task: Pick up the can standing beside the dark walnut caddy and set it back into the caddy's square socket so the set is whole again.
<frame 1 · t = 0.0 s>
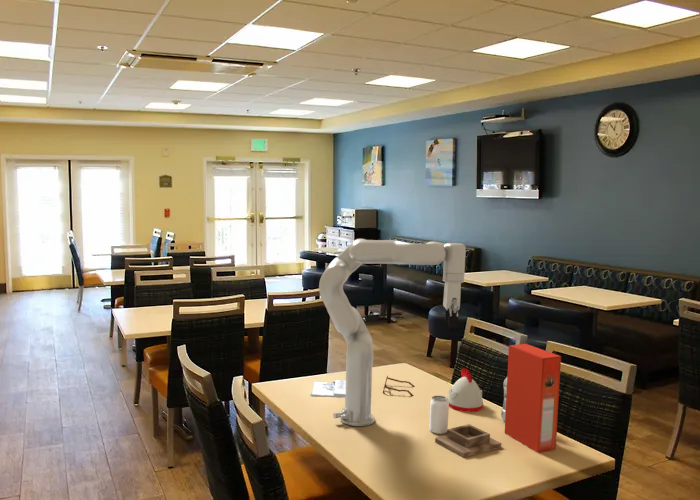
hand: (451, 324, 222), 37 cm above the table, tool pointing down, fingers open, 9 cm apart
can: (438, 431, 219), on the table
plastic bottle: (510, 422, 230), on the table
open book: (335, 391, 261), on the table
caddy: (467, 444, 207), on the table
file binder: (528, 441, 212), on the table
kitchen timer: (465, 406, 246), on the table
glasses: (398, 391, 263), on the table
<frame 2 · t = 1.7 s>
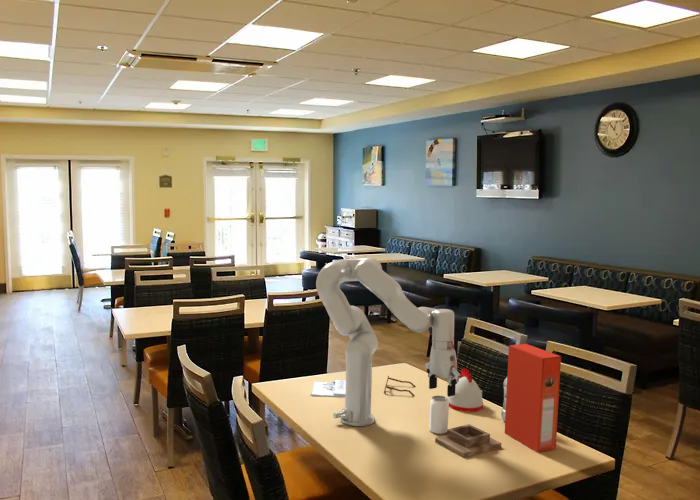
hand: (441, 392, 217), 14 cm above the table, tool pointing down, fingers open, 9 cm apart
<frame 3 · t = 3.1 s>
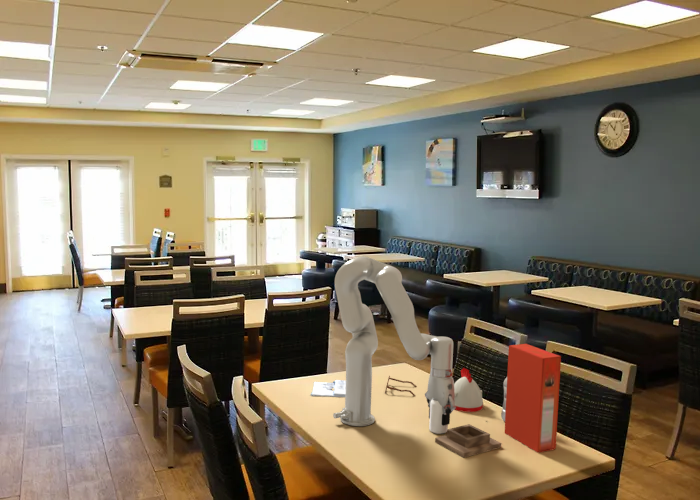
hand: (439, 420, 218), 4 cm above the table, tool pointing down, fingers closed on can, 6 cm apart
can: (438, 431, 219), on the table, touching gripper
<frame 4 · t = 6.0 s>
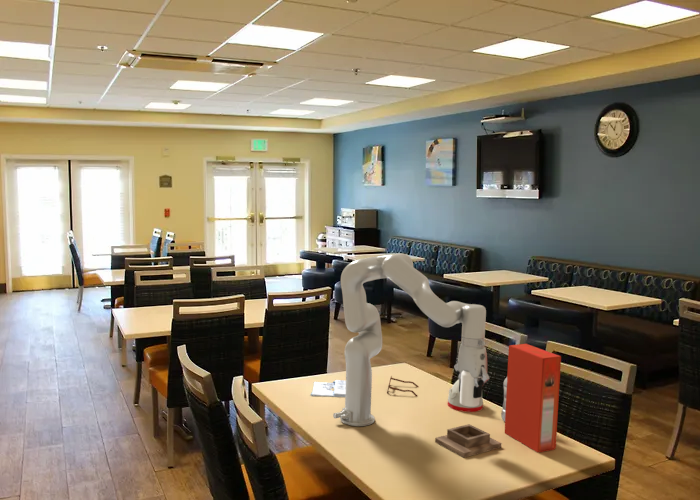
hand: (470, 393, 206), 18 cm above the table, tool pointing down, fingers closed on can, 6 cm apart
can: (469, 405, 206), point 14 cm above the table, touching gripper
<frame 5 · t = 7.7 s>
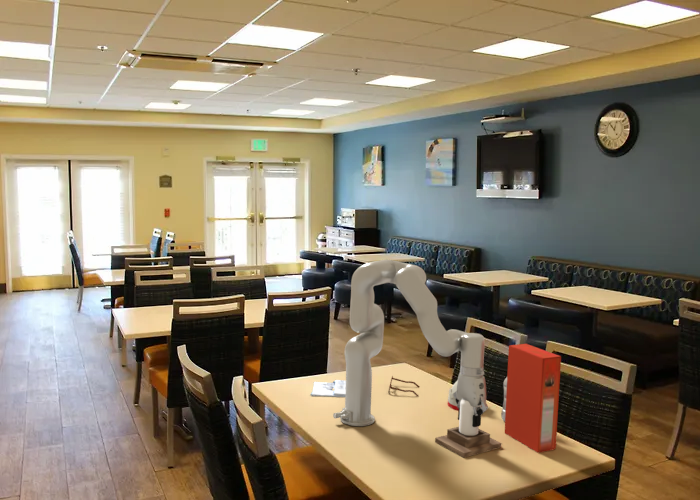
hand: (469, 422, 207), 8 cm above the table, tool pointing down, fingers closed on can, 6 cm apart
can: (468, 433, 207), point 4 cm above the table, touching gripper
when the fingers open (6 cm above the table, at t = 9.0 s): can stays where it is, resting on caddy.
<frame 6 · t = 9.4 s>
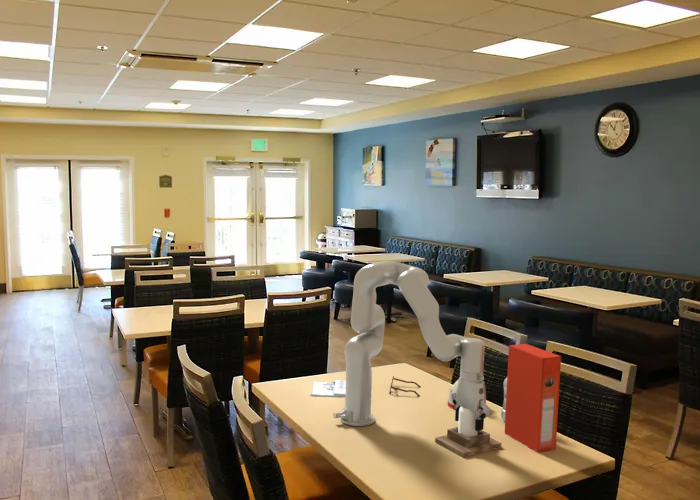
hand: (468, 425, 207), 7 cm above the table, tool pointing down, fingers open, 9 cm apart
can: (467, 440, 207), point 1 cm above the table, touching caddy
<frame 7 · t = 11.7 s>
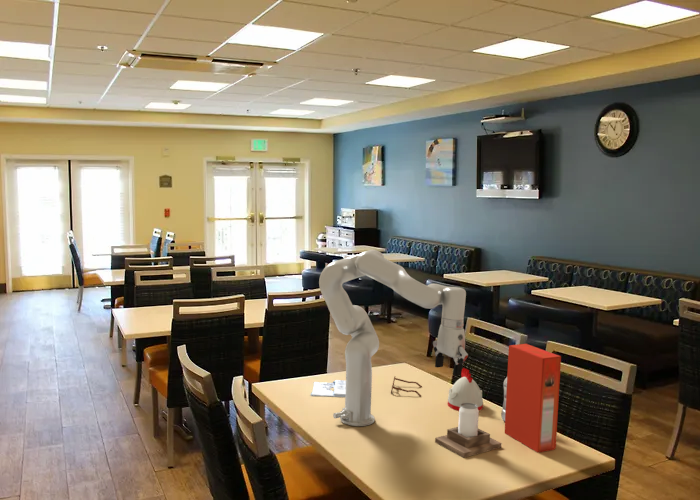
hand: (447, 371, 214), 23 cm above the table, tool pointing down, fingers open, 9 cm apart
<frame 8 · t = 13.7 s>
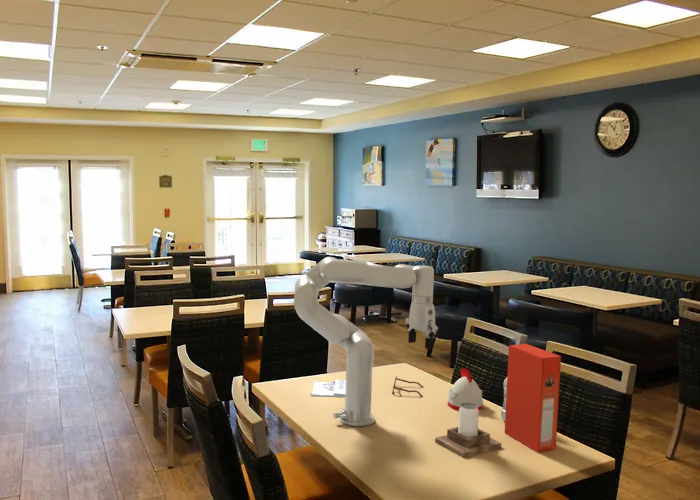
hand: (420, 345, 226), 28 cm above the table, tool pointing down, fingers open, 9 cm apart
at the end: can 0.3 cm from the caddy (horizontally); can point 1.3 cm above the table; can tilted 0° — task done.
